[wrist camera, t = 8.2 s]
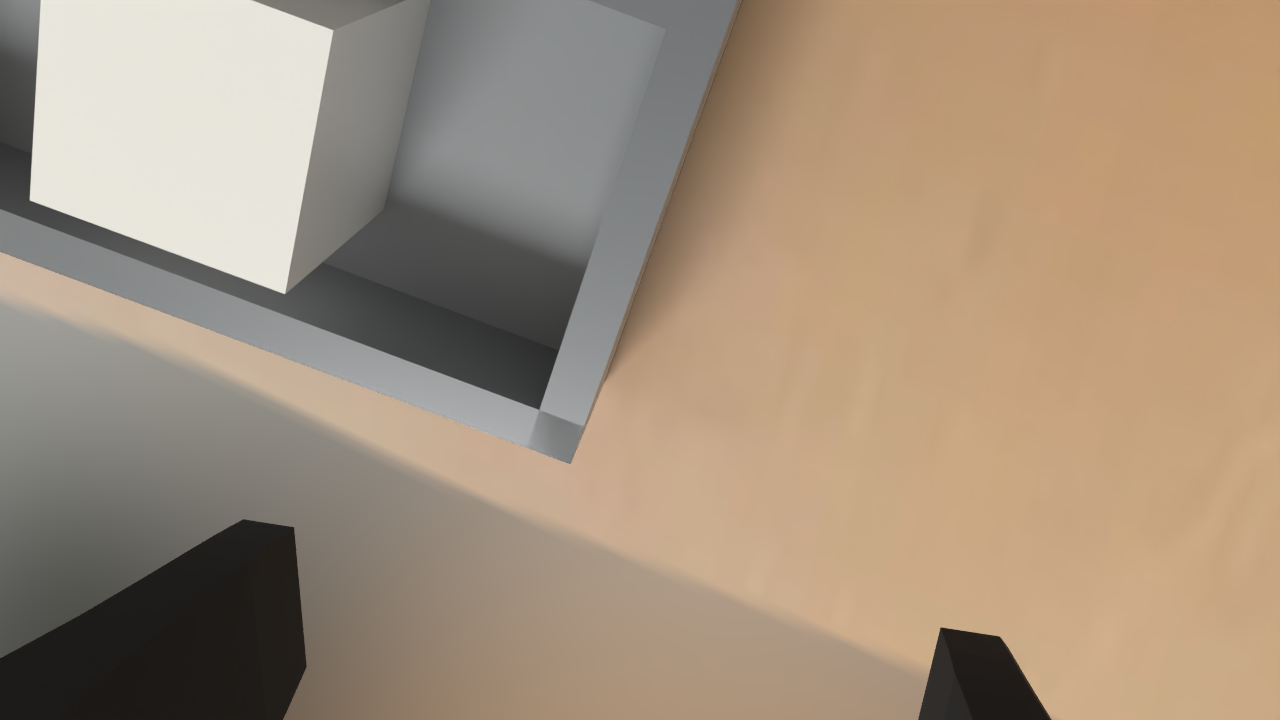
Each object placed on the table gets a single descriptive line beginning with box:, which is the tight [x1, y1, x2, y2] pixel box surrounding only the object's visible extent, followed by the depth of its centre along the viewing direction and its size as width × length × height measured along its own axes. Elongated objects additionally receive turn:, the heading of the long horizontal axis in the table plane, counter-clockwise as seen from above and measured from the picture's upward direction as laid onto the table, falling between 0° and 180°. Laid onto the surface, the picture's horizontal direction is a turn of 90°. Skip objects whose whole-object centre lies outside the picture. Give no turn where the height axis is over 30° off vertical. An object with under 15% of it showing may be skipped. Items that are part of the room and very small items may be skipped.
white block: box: [30, 0, 431, 294], centre depth 17 cm, size 4×4×4 cm
